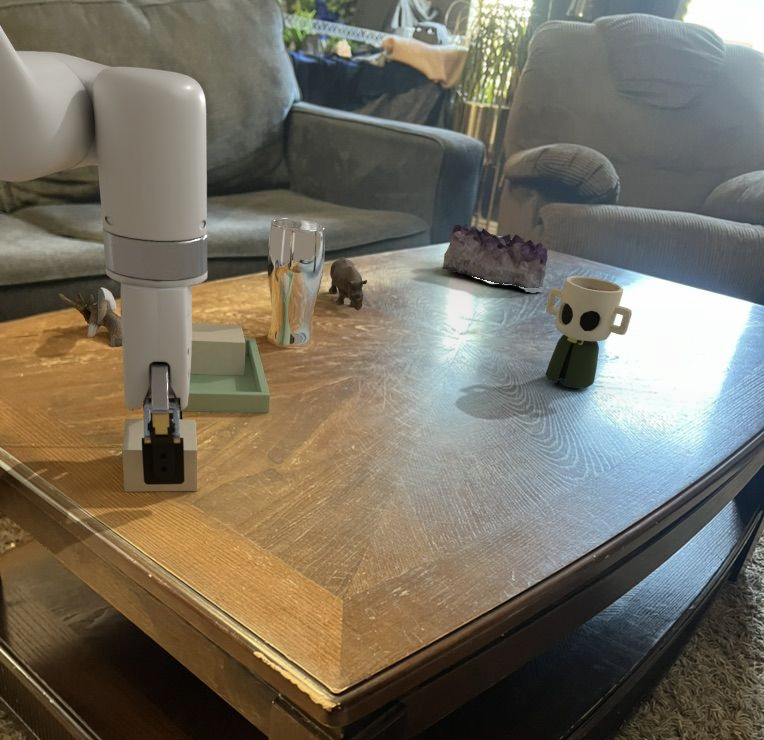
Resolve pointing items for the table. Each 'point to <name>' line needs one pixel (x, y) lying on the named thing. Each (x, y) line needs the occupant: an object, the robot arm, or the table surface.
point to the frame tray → (232, 388)
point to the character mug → (583, 327)
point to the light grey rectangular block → (135, 459)
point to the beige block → (217, 349)
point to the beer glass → (294, 279)
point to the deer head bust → (99, 314)
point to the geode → (495, 257)
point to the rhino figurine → (347, 282)
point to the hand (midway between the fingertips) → (164, 454)
